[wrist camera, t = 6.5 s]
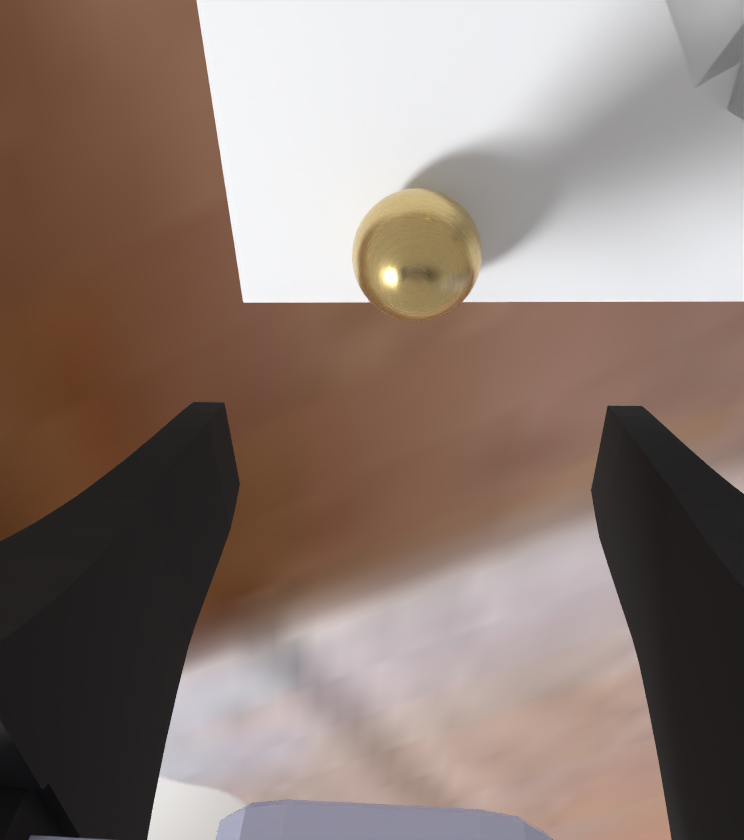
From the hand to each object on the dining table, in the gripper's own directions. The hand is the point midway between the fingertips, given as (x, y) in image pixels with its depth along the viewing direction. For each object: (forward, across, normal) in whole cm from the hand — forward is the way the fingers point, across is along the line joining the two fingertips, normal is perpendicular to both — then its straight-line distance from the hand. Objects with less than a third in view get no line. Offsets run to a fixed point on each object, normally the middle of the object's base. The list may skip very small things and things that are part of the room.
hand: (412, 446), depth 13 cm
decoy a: (+6, 0, -2) cm, 6 cm away
